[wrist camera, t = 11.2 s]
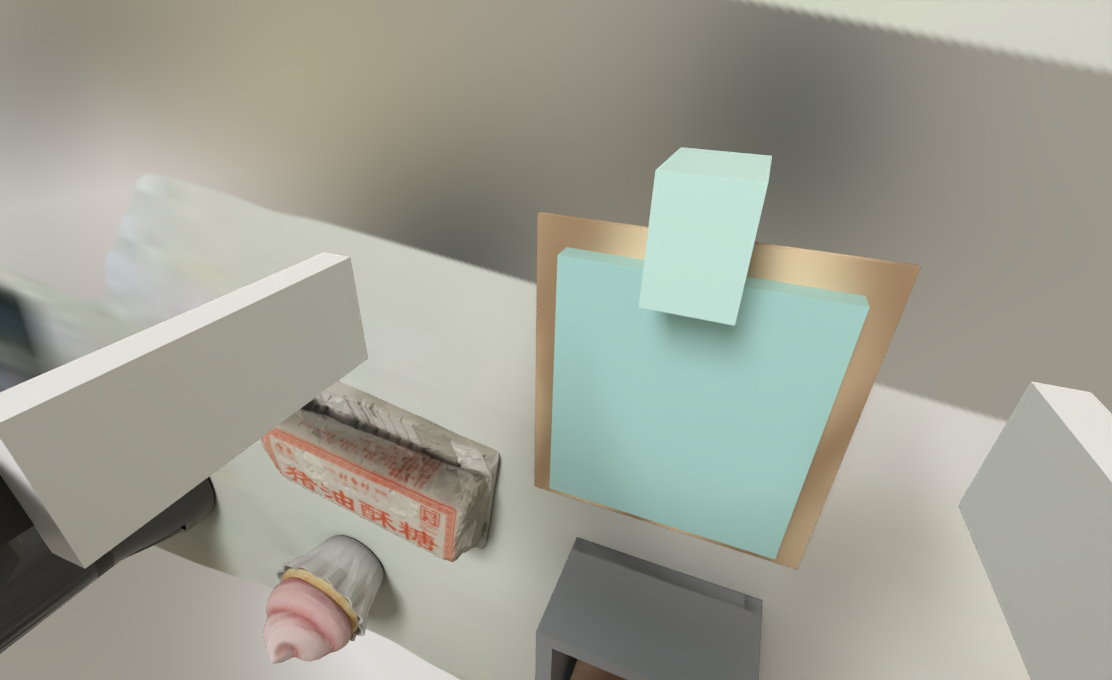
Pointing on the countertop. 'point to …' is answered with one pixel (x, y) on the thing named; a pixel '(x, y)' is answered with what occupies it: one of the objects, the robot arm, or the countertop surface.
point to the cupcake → (321, 600)
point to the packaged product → (389, 468)
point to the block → (591, 672)
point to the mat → (798, 266)
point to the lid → (695, 364)
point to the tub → (645, 622)
